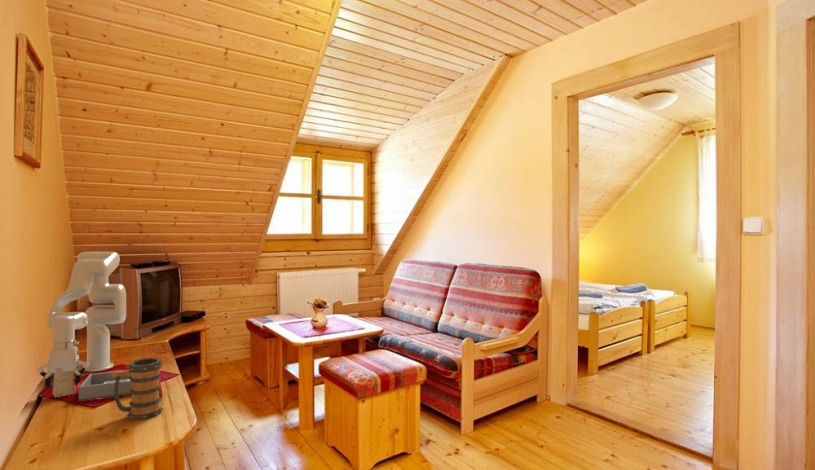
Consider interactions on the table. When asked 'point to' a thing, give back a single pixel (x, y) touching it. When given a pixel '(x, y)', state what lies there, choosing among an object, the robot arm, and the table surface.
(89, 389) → the walled box
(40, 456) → the table surface
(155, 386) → the mug
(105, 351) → the robot arm
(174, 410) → the table surface
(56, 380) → the skincare box
